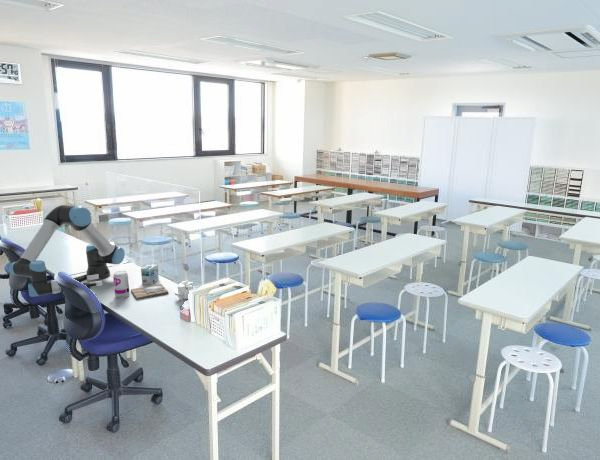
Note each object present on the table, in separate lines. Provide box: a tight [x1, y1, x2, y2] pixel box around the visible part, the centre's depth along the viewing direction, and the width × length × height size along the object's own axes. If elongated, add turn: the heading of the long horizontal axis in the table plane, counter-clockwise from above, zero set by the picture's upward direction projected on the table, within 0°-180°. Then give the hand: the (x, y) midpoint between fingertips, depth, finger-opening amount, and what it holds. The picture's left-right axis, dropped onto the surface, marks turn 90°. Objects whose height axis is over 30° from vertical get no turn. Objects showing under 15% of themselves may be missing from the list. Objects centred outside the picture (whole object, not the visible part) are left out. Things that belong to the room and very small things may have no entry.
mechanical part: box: [174, 279, 196, 302], centre depth 268 cm, size 11×12×12 cm
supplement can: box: [112, 270, 131, 299], centre depth 273 cm, size 8×8×15 cm
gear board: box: [130, 283, 169, 301], centre depth 280 cm, size 16×19×2 cm
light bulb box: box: [140, 263, 160, 286], centre depth 298 cm, size 11×7×11 cm, turn 168°
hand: (100, 279), depth 266 cm, fingers open, 13 cm apart
